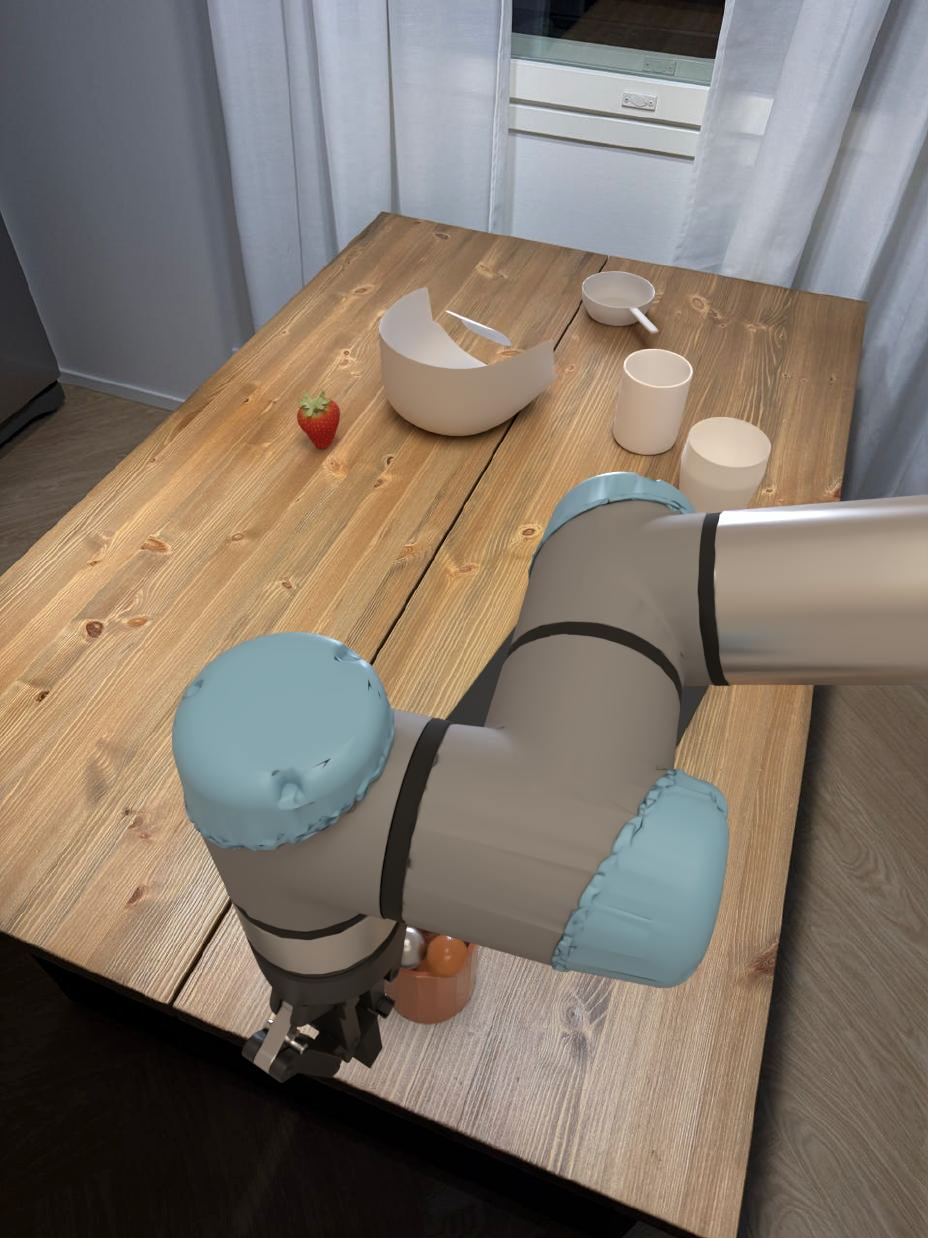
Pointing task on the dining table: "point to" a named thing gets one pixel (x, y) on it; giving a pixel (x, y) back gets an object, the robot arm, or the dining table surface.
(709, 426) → the cup
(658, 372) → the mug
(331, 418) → the fruit
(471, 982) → the spoon cup
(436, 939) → the brown piece
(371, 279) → the dining table surface
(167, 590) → the dining table surface
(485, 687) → the mat
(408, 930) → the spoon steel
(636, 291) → the small pan
